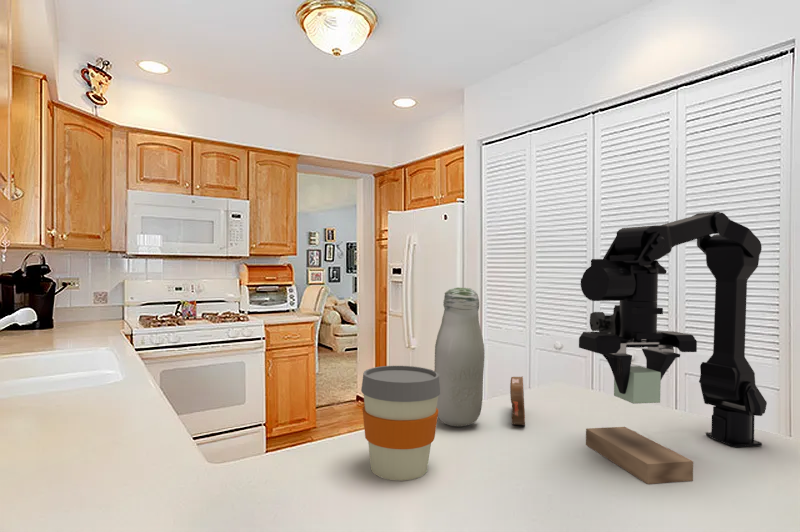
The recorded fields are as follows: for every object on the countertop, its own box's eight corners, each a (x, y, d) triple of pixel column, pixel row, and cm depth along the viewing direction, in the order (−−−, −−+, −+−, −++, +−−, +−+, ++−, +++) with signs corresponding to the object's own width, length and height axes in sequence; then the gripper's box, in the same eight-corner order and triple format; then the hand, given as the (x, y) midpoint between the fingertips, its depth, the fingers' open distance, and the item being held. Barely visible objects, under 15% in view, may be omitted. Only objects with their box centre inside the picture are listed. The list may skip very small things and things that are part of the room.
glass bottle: (442, 434, 91) (446, 288, 91) (427, 417, 101) (430, 286, 101) (490, 431, 93) (493, 289, 93) (470, 415, 103) (473, 286, 103)
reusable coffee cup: (425, 492, 67) (427, 386, 67) (345, 477, 72) (347, 377, 72) (447, 459, 79) (449, 369, 79) (377, 448, 83) (380, 362, 84)
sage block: (639, 394, 83) (639, 366, 83) (660, 402, 78) (660, 372, 78) (613, 395, 82) (614, 366, 82) (633, 403, 77) (634, 373, 77)
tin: (525, 431, 94) (525, 388, 94) (508, 429, 95) (509, 387, 95) (524, 409, 109) (525, 373, 109) (510, 408, 110) (511, 372, 110)
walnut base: (624, 442, 89) (624, 426, 89) (692, 480, 73) (693, 461, 73) (585, 444, 87) (586, 428, 87) (647, 484, 72) (647, 464, 72)
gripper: (652, 297, 90) (650, 380, 90) (562, 297, 86) (560, 382, 86) (700, 302, 79) (698, 396, 79) (599, 301, 76) (597, 399, 76)
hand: (636, 392), depth 80 cm, fingers closed on sage block, 5 cm apart
